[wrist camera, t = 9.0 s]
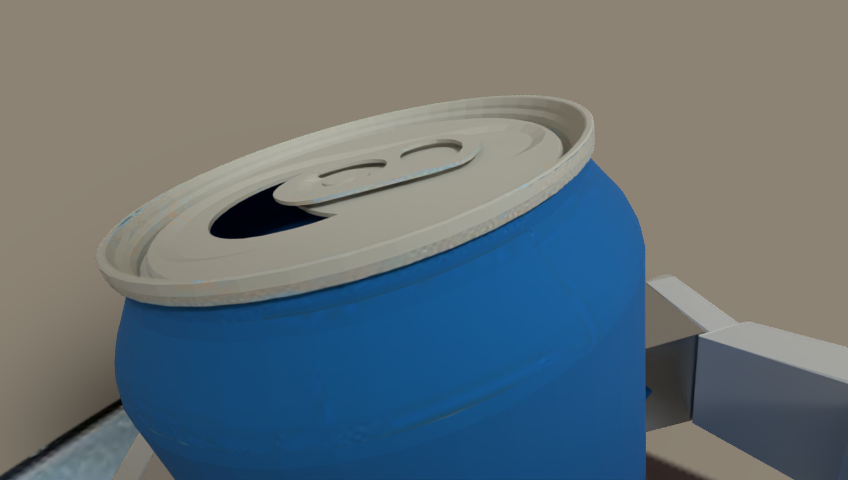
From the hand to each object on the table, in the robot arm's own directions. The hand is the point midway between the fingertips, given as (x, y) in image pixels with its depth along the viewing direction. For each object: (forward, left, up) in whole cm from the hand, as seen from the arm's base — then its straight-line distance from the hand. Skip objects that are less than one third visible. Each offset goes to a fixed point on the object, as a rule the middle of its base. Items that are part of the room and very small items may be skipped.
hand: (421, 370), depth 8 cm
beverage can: (0, -1, -8) cm, 8 cm away
